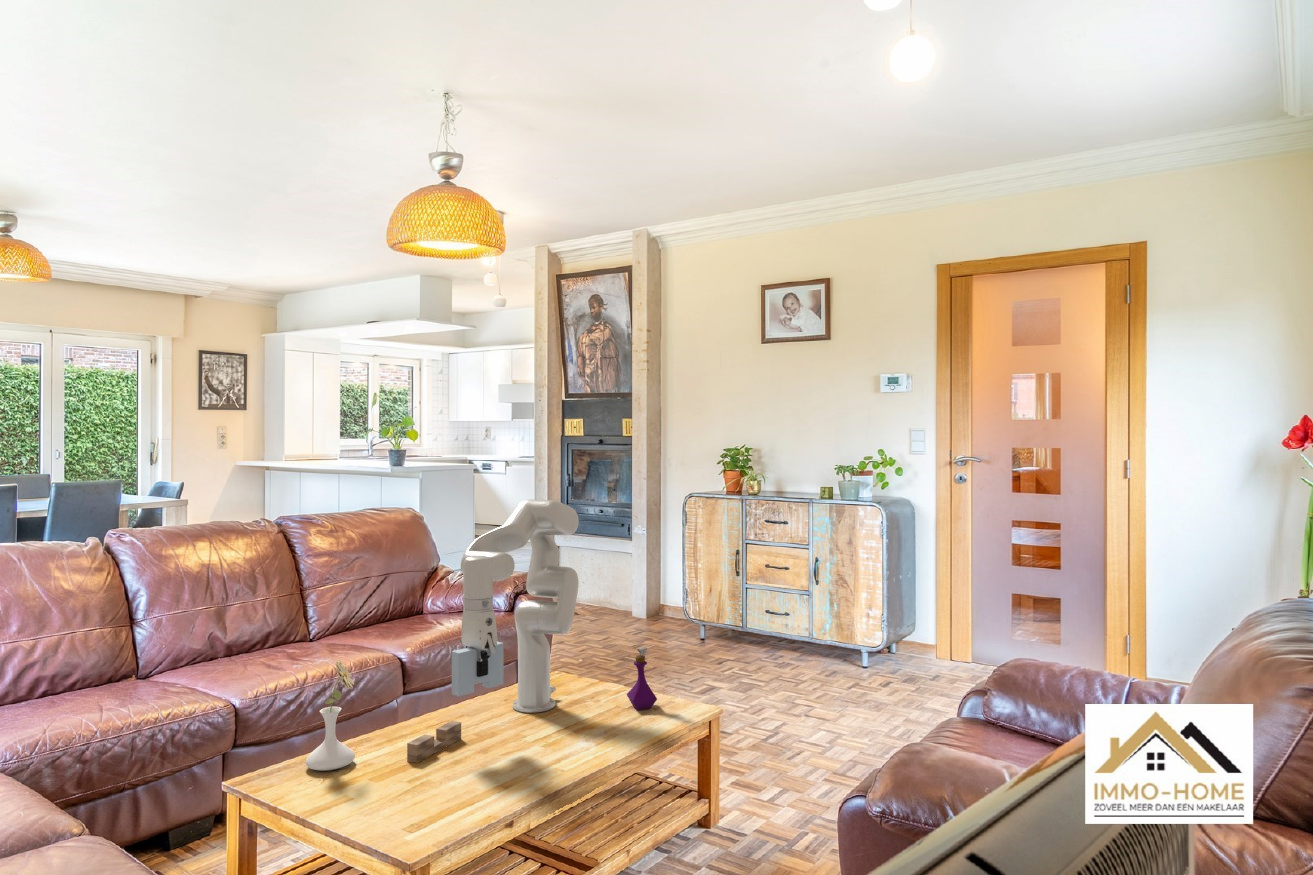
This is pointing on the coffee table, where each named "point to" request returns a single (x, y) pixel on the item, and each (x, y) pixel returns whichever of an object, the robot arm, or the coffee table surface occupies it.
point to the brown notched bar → (433, 742)
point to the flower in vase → (332, 732)
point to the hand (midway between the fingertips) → (478, 673)
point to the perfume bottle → (641, 686)
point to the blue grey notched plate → (475, 670)
